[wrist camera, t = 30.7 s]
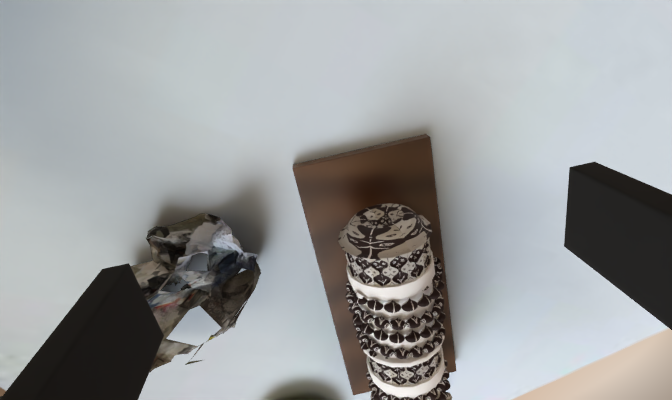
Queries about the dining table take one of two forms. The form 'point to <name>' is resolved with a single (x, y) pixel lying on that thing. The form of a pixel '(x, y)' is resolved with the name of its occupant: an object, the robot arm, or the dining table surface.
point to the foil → (195, 277)
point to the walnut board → (353, 196)
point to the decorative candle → (396, 302)
